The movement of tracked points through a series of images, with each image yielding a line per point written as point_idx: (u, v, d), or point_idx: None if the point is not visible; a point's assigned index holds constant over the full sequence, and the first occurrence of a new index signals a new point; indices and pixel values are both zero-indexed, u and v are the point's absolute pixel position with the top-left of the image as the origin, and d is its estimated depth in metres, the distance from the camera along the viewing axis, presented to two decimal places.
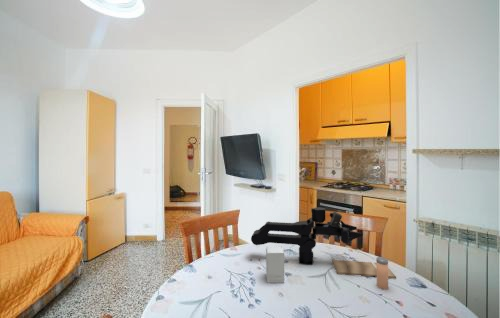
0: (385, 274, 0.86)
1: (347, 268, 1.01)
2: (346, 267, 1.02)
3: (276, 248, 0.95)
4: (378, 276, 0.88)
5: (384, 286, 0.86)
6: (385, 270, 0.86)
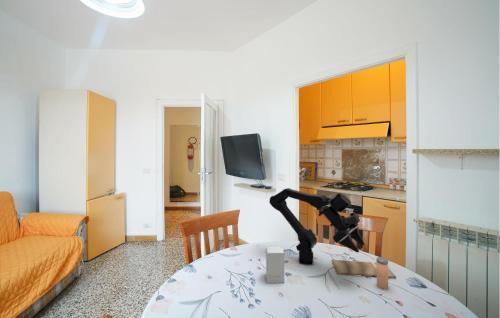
0: (385, 274, 0.86)
1: (347, 268, 1.01)
2: (346, 267, 1.02)
3: (276, 248, 0.95)
4: (378, 276, 0.88)
5: (384, 286, 0.86)
6: (385, 270, 0.86)
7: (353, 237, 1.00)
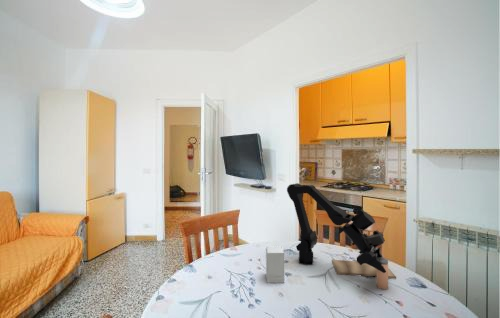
0: (385, 274, 0.86)
1: (347, 268, 1.01)
2: (346, 267, 1.02)
3: (276, 248, 0.95)
4: (378, 276, 0.88)
5: (384, 286, 0.86)
6: None
7: None
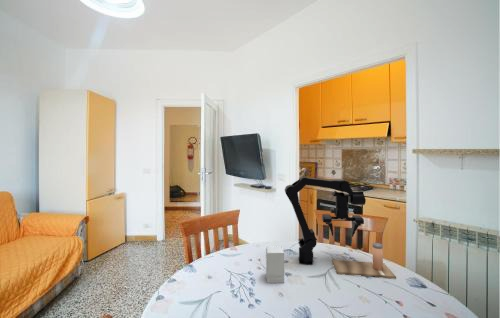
0: (381, 257, 0.99)
1: (347, 268, 1.01)
2: (346, 267, 1.02)
3: (276, 248, 0.95)
4: (375, 260, 0.99)
5: (381, 268, 0.98)
6: (381, 253, 0.99)
7: None
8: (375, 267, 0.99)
